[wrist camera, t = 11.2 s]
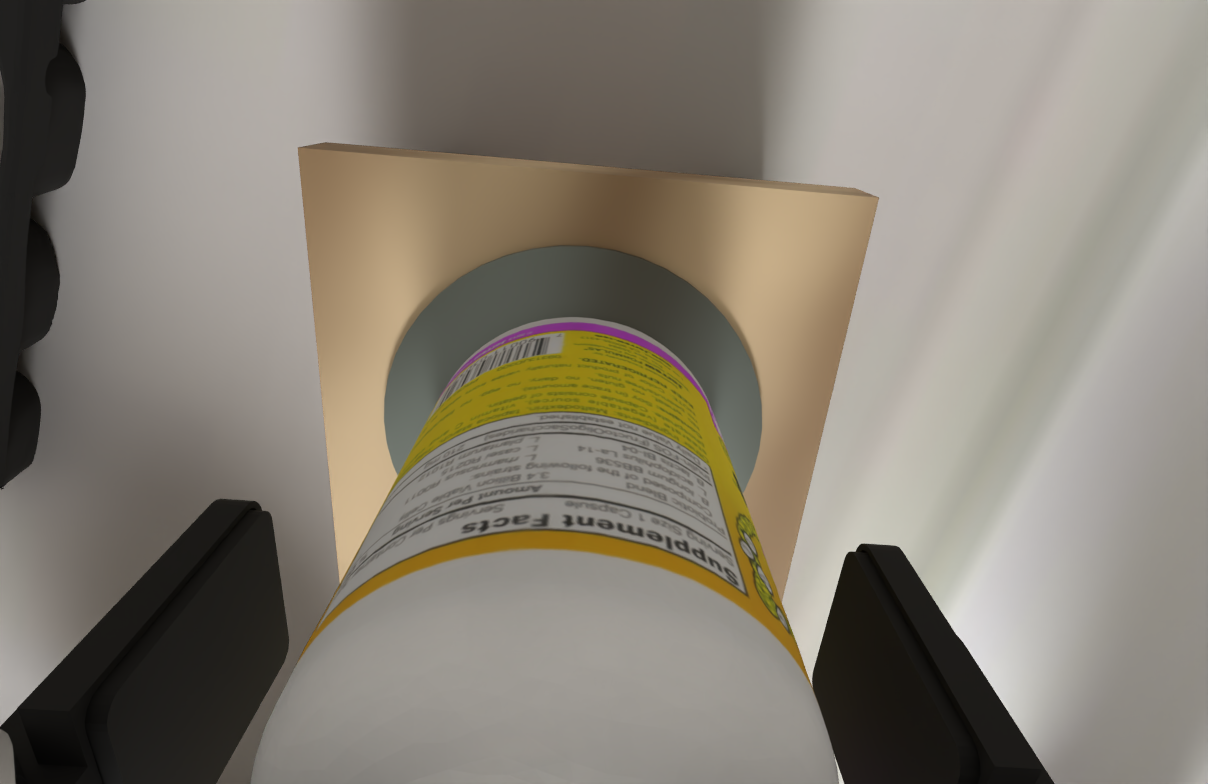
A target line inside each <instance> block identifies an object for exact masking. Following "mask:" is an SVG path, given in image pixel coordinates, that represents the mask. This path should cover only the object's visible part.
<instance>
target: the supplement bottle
mask: <svg viewBox="0 0 1208 784" xmlns="http://www.w3.org/2000/svg"><path fill="white" fill-rule="evenodd" d="M250 784H839V780H838V772H837V766H836V762H835V757H834V753H833V749H832V745H831V742H830V738H829V735H828V732H827V729H826V726H825V723H824V720H823V717H822V714H821V711H820V708H819V705H818V702H817V699H816V696H815V694H814V691H813V688H812V685H811V683H810V680H809V677H808V675H807V672H806V669H805V666H804V663H803V660H802V657H801V654H800V651H799V648H798V645H797V643H796V640H795V637H794V635H793V632H792V629H791V627H790V624H789V621H788V619H787V616H786V613H785V611H784V608H783V605H782V603H781V600H780V597H779V594H778V590H777V588H776V585H775V583H774V580H773V577H772V575H771V572H770V569H769V566H768V564H767V561H766V558H765V555H764V552H763V549H762V546H761V543H760V541H759V538H758V535H757V532H756V530H755V527H754V524H753V521H752V518H751V516H750V513H749V510H748V507H747V504H746V501H745V498H744V496H743V494H742V491H741V488H740V486H739V483H738V480H737V477H736V474H735V471H734V468H733V465H732V463H731V460H730V457H729V454H728V451H727V448H726V446H725V443H724V440H723V437H722V434H721V432H720V429H719V426H718V423H717V421H716V418H715V416H714V413H713V411H712V409H711V406H710V404H709V401H708V399H707V397H706V395H705V393H704V391H703V389H702V387H701V386H700V384H699V383H698V381H697V380H696V378H695V377H694V375H693V374H692V373H691V371H690V370H689V369H688V368H687V367H686V366H685V365H684V363H683V362H682V361H681V360H680V359H679V358H678V357H677V356H675V355H674V354H673V353H672V352H671V351H670V350H668V349H667V348H666V347H665V346H663V345H662V344H660V343H659V342H657V341H656V340H654V339H653V338H651V337H649V336H647V335H646V334H644V333H642V332H640V331H638V330H635V329H633V328H631V327H628V326H625V325H621V324H618V323H614V322H609V321H604V320H599V319H593V318H582V317H563V318H553V319H545V320H540V321H536V322H531V323H528V324H525V325H522V326H519V327H517V328H514V329H511V330H509V331H507V332H505V333H503V334H501V335H499V336H498V337H496V338H494V339H493V340H491V341H490V342H488V343H487V344H485V345H484V346H482V347H481V348H480V349H479V350H477V351H476V352H475V353H474V354H473V355H472V356H471V357H469V358H468V359H467V360H466V361H465V362H464V363H463V365H462V366H461V367H460V368H459V369H458V371H457V372H456V373H455V374H454V376H453V377H452V378H451V380H450V382H449V383H448V385H447V386H446V388H445V390H444V391H443V392H442V394H441V395H440V397H439V399H438V401H437V403H436V405H435V407H434V409H433V410H432V412H431V414H430V416H429V418H428V420H427V422H426V423H425V425H424V427H423V429H422V431H421V433H420V435H419V437H418V439H417V441H416V442H415V444H414V446H413V448H412V450H411V452H410V454H409V456H408V458H407V459H406V461H405V463H404V465H403V467H402V469H401V471H400V473H399V474H398V476H397V478H396V480H395V482H394V484H393V486H392V488H391V489H390V491H389V493H388V495H387V497H386V499H385V501H384V503H383V505H382V506H381V508H380V510H379V512H378V514H377V516H376V518H375V520H374V521H373V523H372V525H371V527H370V529H369V531H368V533H367V535H366V537H365V538H364V540H363V542H362V544H361V546H360V547H359V549H358V551H357V553H356V555H355V557H354V558H353V560H352V562H351V564H350V566H349V568H348V570H347V572H346V573H345V575H344V577H343V579H342V581H341V583H340V585H339V586H338V588H337V590H336V592H335V594H334V596H333V598H332V600H331V601H330V603H329V605H328V607H327V609H326V611H325V612H324V614H323V616H322V618H321V619H320V621H319V623H318V625H317V627H316V628H315V630H314V632H313V634H312V636H311V637H310V639H309V641H308V643H307V645H306V646H305V648H304V650H303V652H302V654H301V656H300V658H299V660H298V662H297V664H296V666H295V668H294V670H293V672H292V674H291V676H290V678H289V680H288V682H287V684H286V686H285V688H284V690H283V692H282V694H281V695H280V697H279V699H278V701H277V703H276V705H275V707H274V709H273V711H272V714H271V716H270V718H269V720H268V722H267V724H266V726H265V728H264V731H263V734H262V738H261V741H260V744H259V747H258V751H257V754H256V757H255V761H254V765H253V770H252V776H251V782H250Z"/></svg>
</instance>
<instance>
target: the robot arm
mask: <svg viewBox="0 0 1208 784" xmlns="http://www.w3.org/2000/svg"><path fill="white" fill-rule="evenodd" d="M288 646H289V636H288V629H287V621H286V614H285V607H284V600H283V593H282V586H281V579H280V572H279V565H278V557H277V550H276V543H275V536H274V529H273V522H272V517H271V514H270V513H269V512H267V511H262V509H261V506H260V505H259V503H258V502H256V501H245V500H231V499H218V500H216V501H214V502H213V503H212V504H211V505H210V506H209V507H208V508H207V509H206V510H205V511H204V512H203V513H202V514H201V515H200V516H199V517H198V519H197V520H196V521H195V522H194V523H193V524H192V525H191V526H190V527H189V528H188V529H187V530H186V531H185V532H184V533H183V534H182V535H181V536H180V537H179V539H178V540H177V541H176V542H175V543H174V544H173V545H172V546H171V547H170V548H169V549H168V550H167V551H166V552H165V553H164V554H163V555H162V556H161V557H160V559H159V560H158V561H157V562H156V563H155V564H154V565H153V566H152V567H151V568H150V569H149V570H148V571H147V572H146V573H145V574H144V575H143V576H142V577H141V579H140V580H139V581H138V582H137V583H136V584H135V585H134V586H133V587H132V588H131V589H130V590H129V591H128V592H127V593H126V594H125V595H124V596H123V597H122V598H121V600H120V601H119V602H118V603H117V604H116V605H115V606H114V607H113V608H112V609H111V610H110V611H109V612H108V613H107V614H106V615H105V616H104V617H103V618H102V620H101V621H100V622H99V623H98V624H97V625H96V626H95V627H94V628H93V629H92V630H91V631H90V632H89V633H88V634H87V635H86V636H85V637H84V638H83V640H82V641H81V642H80V643H79V644H78V645H77V646H76V647H75V648H74V649H73V650H72V651H71V652H70V653H69V654H68V655H67V656H66V657H65V658H64V660H63V661H62V662H61V663H60V664H59V665H58V666H57V667H56V668H55V669H54V670H53V671H52V672H51V673H50V674H49V675H48V676H47V677H46V678H45V679H44V681H43V682H42V683H41V684H40V685H39V686H38V687H37V688H36V689H35V690H34V691H33V692H32V693H31V694H30V695H29V696H28V697H27V698H26V699H25V701H24V702H23V703H22V704H21V705H20V706H19V707H18V708H17V710H16V711H15V712H14V713H13V714H12V715H11V716H10V717H9V718H8V719H7V720H6V721H5V722H4V723H3V724H2V725H1V726H0V784H216V783H217V781H218V779H219V777H220V775H221V774H222V772H223V770H224V768H225V767H226V765H227V763H228V761H229V759H230V758H231V756H232V754H233V752H234V750H235V749H236V747H237V745H238V743H239V742H240V740H241V738H242V736H243V734H244V733H245V731H246V729H247V727H248V726H249V724H250V722H251V720H252V718H253V717H254V715H255V713H256V711H257V709H258V708H259V706H260V704H261V702H262V701H263V699H264V697H265V695H266V693H267V692H268V690H269V688H270V686H271V685H272V683H273V681H274V679H275V677H276V676H277V674H278V672H279V670H280V669H281V667H282V665H283V663H284V661H285V658H286V655H287V652H288ZM812 684H813V691H814V694H815V696H816V699H817V702H818V705H819V708H820V711H821V714H822V717H823V720H824V723H825V726H826V729H827V732H828V735H829V738H830V742H831V745H832V749H833V752H834V755H835V757H836V760H837V763H838V766H839V769H840V772H841V775H842V778H843V781H844V784H1054V782H1053V781H1052V779H1051V778H1050V776H1049V775H1048V773H1047V771H1046V770H1045V768H1044V767H1043V765H1042V764H1041V762H1040V761H1039V759H1038V758H1037V756H1036V754H1035V753H1034V751H1033V750H1032V748H1031V747H1030V745H1029V744H1028V742H1027V741H1026V739H1025V737H1024V736H1023V734H1022V733H1021V731H1020V730H1019V728H1018V727H1017V725H1016V724H1015V722H1014V720H1013V719H1012V717H1011V716H1010V714H1009V713H1008V711H1007V710H1006V708H1005V706H1004V705H1003V703H1002V702H1001V700H1000V699H999V697H998V696H997V694H996V693H995V691H994V689H993V688H992V686H991V685H990V683H989V682H988V680H987V679H986V677H985V676H984V674H983V672H982V671H981V669H980V668H979V666H978V665H977V663H976V662H975V660H974V659H973V657H972V655H971V654H970V652H969V651H968V649H967V648H966V646H965V645H964V643H963V642H962V641H961V640H960V638H959V637H958V636H957V635H956V634H955V632H954V631H953V629H952V628H951V626H950V625H949V623H948V621H947V620H946V618H945V617H944V615H943V614H942V612H941V611H940V609H939V607H938V606H937V604H936V603H935V601H934V600H933V598H932V597H931V595H930V593H929V592H928V590H927V589H926V587H925V586H924V584H923V583H922V581H921V579H920V578H919V576H918V575H917V573H916V572H915V570H914V569H913V567H912V565H911V564H910V562H909V561H908V559H907V558H906V556H905V554H904V553H903V551H902V550H901V549H900V548H899V547H897V546H891V545H876V544H861V545H859V547H858V548H857V550H856V552H848V554H847V555H846V557H845V560H844V563H843V567H842V570H841V574H840V578H839V581H838V585H837V588H836V592H835V595H834V599H833V603H832V606H831V610H830V613H829V617H828V620H827V624H826V628H825V631H824V635H823V638H822V642H821V645H820V649H819V653H818V656H817V660H816V663H815V667H814V671H813V678H812Z"/></svg>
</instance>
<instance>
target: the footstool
mask: <svg viewBox="0 0 1208 784" xmlns="http://www.w3.org/2000/svg"><path fill="white" fill-rule="evenodd" d="M298 156H299V166H300V176H301V187H302V197H303V207H304V218H305V228H306V239H307V249H308V259H309V270H310V280H311V290H312V301H313V311H314V322H315V332H316V342H317V353H318V363H319V373H320V384H321V394H322V405H323V415H324V425H325V436H326V446H327V456H328V467H329V477H330V488H331V498H332V508H333V519H334V529H335V539H336V550H337V560H338V571H339V581H340V583H341V581H342V579H343V577H344V575H345V573H346V572H347V570H348V568H349V566H350V564H351V562H352V560H353V558H354V557H355V555H356V553H357V551H358V549H359V547H360V546H361V544H362V542H363V540H364V538H365V537H366V535H367V533H368V531H369V529H370V527H371V525H372V523H373V521H374V520H375V518H376V516H377V514H378V512H379V510H380V508H381V506H382V505H383V503H384V501H385V499H386V497H387V495H388V493H389V491H390V489H391V488H392V486H393V484H394V482H395V480H396V478H397V476H398V474H399V473H400V471H401V469H402V467H403V465H404V463H405V461H406V459H407V458H408V456H409V454H410V452H411V450H412V448H413V446H414V444H415V442H416V441H417V439H418V437H419V435H420V433H421V431H422V429H423V427H424V425H425V423H426V422H427V420H428V418H429V416H430V414H431V412H432V410H433V409H434V407H435V405H436V403H437V401H438V399H439V397H440V395H441V394H442V392H443V391H444V390H445V388H446V386H447V385H448V383H449V382H450V380H451V378H452V377H453V376H454V374H455V373H456V372H457V371H458V369H459V368H460V367H461V366H462V365H463V363H464V362H465V361H466V360H467V359H468V358H469V357H471V356H472V355H473V354H474V353H475V352H476V351H477V350H479V349H480V348H481V347H482V346H484V345H485V344H487V343H488V342H490V341H491V340H493V339H494V338H496V337H498V336H499V335H501V334H503V333H505V332H507V331H509V330H511V329H514V328H517V327H519V326H522V325H525V324H528V323H531V322H536V321H540V320H545V319H553V318H563V317H582V318H593V319H599V320H604V321H609V322H614V323H618V324H621V325H625V326H628V327H631V328H633V329H635V330H638V331H640V332H642V333H644V334H646V335H647V336H649V337H651V338H653V339H654V340H656V341H657V342H659V343H660V344H662V345H663V346H665V347H666V348H667V349H668V350H670V351H671V352H672V353H673V354H674V355H675V356H677V357H678V358H679V359H680V360H681V361H682V362H683V363H684V365H685V366H686V367H687V368H688V369H689V370H690V371H691V373H692V374H693V375H694V377H695V378H696V380H697V381H698V383H699V384H700V386H701V387H702V389H703V391H704V393H705V395H706V397H707V399H708V401H709V404H710V406H711V409H712V411H713V413H714V416H715V418H716V421H717V423H718V426H719V429H720V432H721V434H722V437H723V440H724V443H725V446H726V448H727V451H728V454H729V457H730V460H731V463H732V465H733V468H734V471H735V474H736V477H737V480H738V483H739V486H740V488H741V491H742V494H743V496H744V498H745V501H746V504H747V507H748V510H749V513H750V516H751V518H752V521H753V524H754V527H755V530H756V532H757V535H758V538H759V541H760V543H761V546H762V549H763V552H764V555H765V558H766V561H767V564H768V566H769V569H770V572H771V575H772V577H773V580H774V583H775V585H776V588H777V590H778V594H779V597H780V600H781V603H782V599H783V595H784V590H785V586H786V582H787V578H788V574H789V570H790V565H791V561H792V557H793V553H794V549H795V545H796V540H797V536H798V532H799V528H800V524H801V520H802V516H803V511H804V507H805V503H806V499H807V495H808V491H809V486H810V482H811V478H812V474H813V470H814V466H815V462H816V457H817V453H818V449H819V445H820V441H821V437H822V432H823V428H824V424H825V420H826V416H827V412H828V408H829V403H830V399H831V395H832V391H833V387H834V383H835V378H836V374H837V370H838V366H839V362H840V358H841V354H842V349H843V345H844V341H845V337H846V333H847V329H848V324H849V320H850V316H851V312H852V308H853V304H854V300H855V295H856V291H857V287H858V283H859V279H860V275H861V270H862V266H863V262H864V258H865V254H866V250H867V246H868V241H869V237H870V233H871V229H872V225H873V221H874V216H875V212H876V208H877V204H878V200H879V198H878V197H876V196H873V195H871V194H868V193H866V192H863V191H861V190H858V189H856V188H847V187H836V186H824V185H812V184H801V183H789V182H778V181H766V180H755V179H743V178H732V177H720V176H708V175H697V174H685V173H674V172H662V171H651V170H639V169H627V168H616V167H604V166H593V165H581V164H570V163H558V162H547V161H535V160H523V159H512V158H500V157H489V156H477V155H466V154H454V153H443V152H431V151H419V150H408V149H396V148H385V147H373V146H362V145H350V144H338V143H327V142H325V143H320V144H314V145H309V146H304V147H299V148H298Z"/></svg>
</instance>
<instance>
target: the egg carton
mask: <svg viewBox="0 0 1208 784" xmlns="http://www.w3.org/2000/svg"><path fill="white" fill-rule="evenodd" d="M84 1H86V0H0V71H1V75H2V79H3V84H4V95H5V102H4V139H3V151H2V157H1V163H0V488H1V490H2V489H3V488H2V487H3V486H5V485H6V484H7V483H8V482H9V481H10V480H12V479H13V478H14V477H15V476H16V475H18V474H19V473H20V472H22V471H23V470H24V469H26V468H27V467H29V466H30V465H31V464H32V462H33V459H34V455H35V451H36V447H37V442H38V435H39V427H40V418H41V404H40V399H39V396H38V393H37V391H36V389H35V388H34V386H33V385H32V383H31V382H30V381H29V380H28V379H27V378H26V377H25V376H23V375H22V374H20V373H19V372H18V371H16V369H17V363H18V357H19V352H20V351H22V350H24V349H26V348H28V347H29V346H31V345H33V344H34V343H36V342H38V341H39V340H41V339H42V338H43V337H44V336H45V335H46V334H47V333H48V332H49V330H50V326H51V325H52V320H53V318H54V314H55V311H56V307H57V300H58V291H59V286H60V275H59V272H58V269H57V265H56V260H55V255H54V251H53V247H52V245H51V244H50V239H49V238H48V235H47V233H46V231H45V230H44V228H43V227H42V226H40V225H39V224H38V223H37V222H35V221H34V220H32V219H31V218H30V212H31V205H32V197H34V196H37V195H40V194H43V193H46V192H50V191H53V190H56V189H58V188H60V187H62V186H64V185H65V184H66V183H67V182H68V181H69V180H70V178H71V175H72V173H73V170H74V168H75V164H76V159H77V154H78V149H79V144H80V138H81V133H82V126H83V118H84V110H85V109H84V107H85V98H86V91H85V83H84V80H83V77H82V73H81V71H80V69H79V67H78V65H77V63H76V61H75V60H74V58H73V57H72V55H71V54H70V53H69V52H68V50H67V49H66V48H65V47H64V46H63V45H62V44H61V43H60V42H59V39H60V27H61V17H62V8H63V4H77V3H81V2H84Z"/></svg>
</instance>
